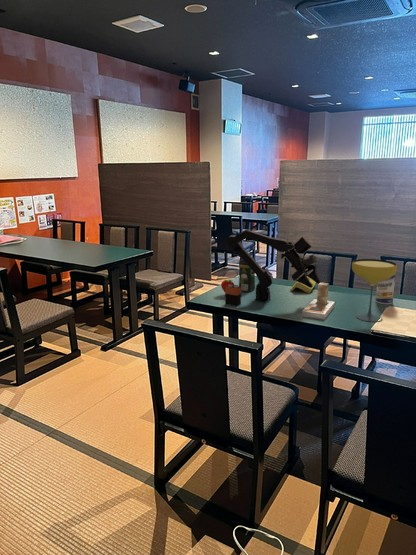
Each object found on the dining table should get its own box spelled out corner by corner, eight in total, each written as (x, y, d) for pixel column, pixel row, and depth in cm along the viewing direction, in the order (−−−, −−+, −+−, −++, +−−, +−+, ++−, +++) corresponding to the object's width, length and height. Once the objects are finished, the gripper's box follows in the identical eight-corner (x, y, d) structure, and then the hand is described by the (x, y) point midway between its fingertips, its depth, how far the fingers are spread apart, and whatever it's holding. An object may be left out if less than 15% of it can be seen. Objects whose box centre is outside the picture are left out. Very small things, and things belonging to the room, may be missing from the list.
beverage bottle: (395, 302, 203) (399, 263, 198) (389, 305, 197) (393, 265, 192) (378, 298, 209) (382, 260, 204) (372, 302, 203) (375, 263, 198)
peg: (316, 308, 194) (318, 284, 191) (318, 306, 197) (320, 282, 194) (324, 309, 192) (326, 285, 189) (326, 307, 195) (328, 283, 192)
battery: (237, 306, 197) (237, 287, 195) (224, 304, 201) (224, 285, 198) (241, 304, 201) (241, 285, 198) (229, 302, 204) (229, 283, 202)
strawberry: (224, 292, 222) (224, 274, 219) (236, 294, 218) (236, 276, 216) (218, 295, 217) (218, 277, 214) (231, 297, 213) (231, 278, 211)
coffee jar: (244, 286, 233) (244, 255, 228) (256, 288, 229) (257, 256, 224) (236, 290, 225) (236, 258, 220) (249, 292, 221) (249, 259, 216)
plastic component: (312, 289, 218) (295, 280, 220) (305, 300, 221) (289, 291, 224) (317, 278, 235) (302, 270, 238) (311, 288, 239) (296, 280, 241)
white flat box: (301, 316, 183) (302, 310, 183) (314, 303, 201) (314, 298, 200) (324, 319, 179) (324, 313, 178) (334, 306, 196) (335, 301, 196)
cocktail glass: (380, 311, 190) (385, 258, 184) (399, 324, 172) (405, 267, 166) (341, 311, 189) (346, 259, 183) (357, 325, 172) (362, 267, 166)
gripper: (298, 252, 186) (320, 279, 182) (314, 247, 201) (335, 271, 197) (282, 267, 193) (303, 293, 189) (299, 261, 207) (318, 285, 203)
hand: (315, 285), depth 194 cm, fingers open, 9 cm apart
